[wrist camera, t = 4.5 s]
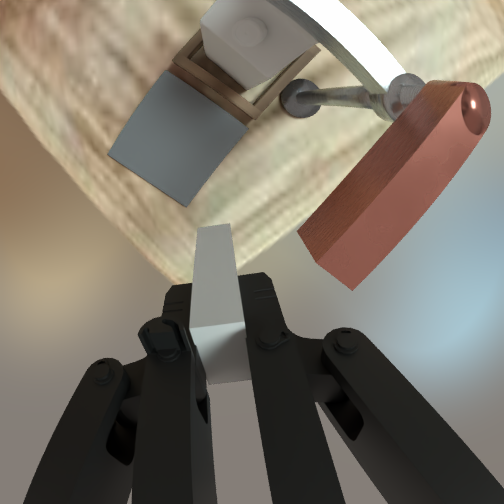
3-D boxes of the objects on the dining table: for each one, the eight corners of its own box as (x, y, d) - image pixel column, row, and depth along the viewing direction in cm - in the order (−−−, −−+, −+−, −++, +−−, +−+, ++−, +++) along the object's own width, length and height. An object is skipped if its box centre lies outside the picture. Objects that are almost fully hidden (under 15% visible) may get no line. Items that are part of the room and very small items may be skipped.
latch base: (272, 99, 32) (273, 99, 31) (298, 71, 30) (300, 70, 30) (302, 125, 34) (304, 125, 33) (327, 98, 32) (329, 98, 32)
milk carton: (245, 20, 26) (276, -51, 10) (286, 55, 29) (354, 16, 13) (204, 55, 28) (195, 4, 12) (246, 91, 31) (280, 74, 15)
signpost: (184, 106, 30) (96, 108, 7) (245, 37, 27) (323, -94, 3) (261, 163, 35) (357, 294, 12) (319, 98, 31) (501, 116, 8)
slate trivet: (109, 153, 32) (107, 154, 32) (166, 70, 28) (165, 69, 28) (186, 205, 37) (186, 207, 37) (248, 128, 33) (248, 128, 33)
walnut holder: (174, 63, 28) (171, 60, 26) (239, -4, 24) (241, -10, 22) (252, 119, 33) (255, 120, 31) (314, 53, 29) (321, 50, 27)
